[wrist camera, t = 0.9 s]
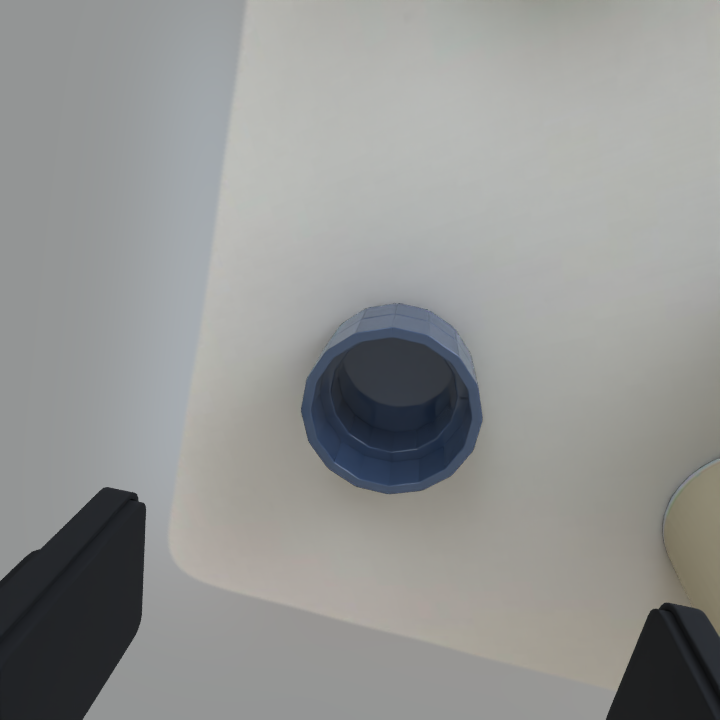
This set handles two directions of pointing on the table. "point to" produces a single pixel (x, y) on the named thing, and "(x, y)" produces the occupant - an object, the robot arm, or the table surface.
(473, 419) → the faceted blue pot
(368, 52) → the table surface
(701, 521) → the coffee cup
